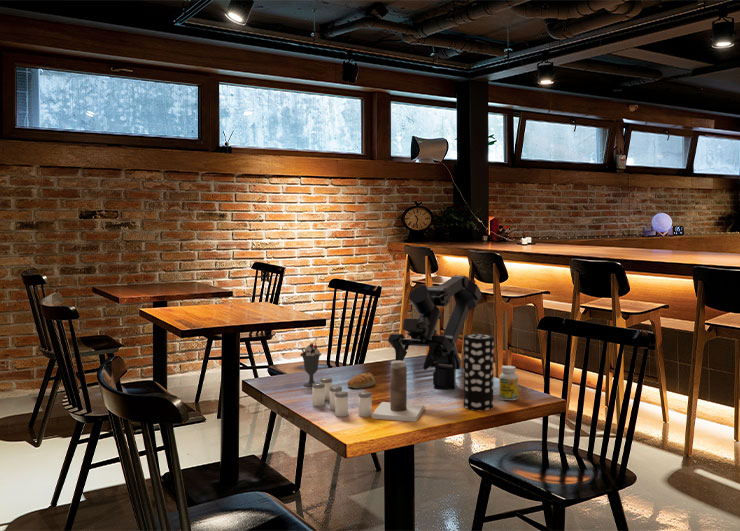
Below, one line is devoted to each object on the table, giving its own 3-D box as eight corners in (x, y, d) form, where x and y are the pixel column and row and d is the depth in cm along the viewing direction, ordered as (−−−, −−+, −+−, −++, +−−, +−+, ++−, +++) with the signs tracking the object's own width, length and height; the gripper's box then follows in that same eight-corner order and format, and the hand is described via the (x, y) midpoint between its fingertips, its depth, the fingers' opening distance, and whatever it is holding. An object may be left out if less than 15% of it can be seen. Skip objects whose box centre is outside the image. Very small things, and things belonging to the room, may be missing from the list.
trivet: (423, 408, 181) (423, 404, 181) (416, 421, 169) (416, 417, 169) (382, 406, 184) (382, 401, 184) (371, 418, 172) (371, 414, 172)
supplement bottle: (518, 397, 193) (519, 365, 192) (516, 402, 188) (517, 369, 187) (500, 396, 194) (501, 364, 194) (497, 400, 189) (498, 368, 189)
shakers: (328, 396, 194) (328, 376, 194) (374, 415, 175) (374, 393, 175) (303, 401, 189) (303, 381, 189) (347, 421, 170) (347, 398, 170)
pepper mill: (404, 406, 179) (404, 360, 178) (408, 411, 175) (408, 363, 174) (388, 407, 178) (388, 360, 178) (392, 411, 174) (392, 364, 173)
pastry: (357, 391, 201) (357, 378, 201) (342, 387, 206) (341, 375, 206) (377, 385, 209) (377, 373, 208) (361, 382, 213) (361, 370, 213)
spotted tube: (475, 412, 178) (475, 340, 176) (457, 404, 185) (457, 335, 184) (499, 408, 181) (500, 337, 180) (481, 401, 189) (481, 333, 188)
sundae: (325, 383, 210) (325, 337, 209) (315, 388, 204) (314, 341, 203) (307, 381, 213) (307, 336, 212) (297, 386, 207) (296, 339, 206)
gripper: (388, 306, 193) (370, 351, 185) (443, 307, 182) (427, 354, 174) (404, 328, 200) (388, 371, 191) (458, 329, 189) (443, 376, 181)
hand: (410, 368), depth 184 cm, fingers open, 9 cm apart
